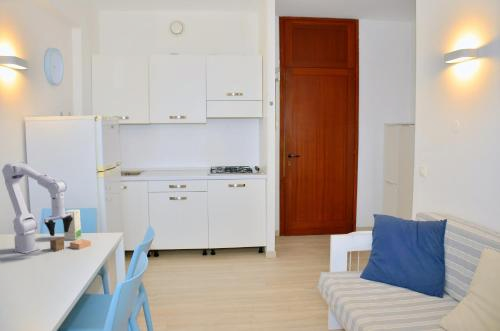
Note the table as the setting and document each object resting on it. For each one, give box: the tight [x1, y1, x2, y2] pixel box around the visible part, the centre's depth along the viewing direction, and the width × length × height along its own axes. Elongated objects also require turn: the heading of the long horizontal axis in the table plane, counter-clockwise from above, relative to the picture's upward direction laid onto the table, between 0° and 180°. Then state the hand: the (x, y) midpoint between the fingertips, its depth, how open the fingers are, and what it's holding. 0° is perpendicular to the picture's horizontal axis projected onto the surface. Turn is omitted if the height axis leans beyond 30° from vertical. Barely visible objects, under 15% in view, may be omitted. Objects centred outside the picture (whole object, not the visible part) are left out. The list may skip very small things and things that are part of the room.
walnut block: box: [49, 237, 65, 252], centre depth 211 cm, size 4×4×6 cm
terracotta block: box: [69, 238, 92, 250], centre depth 216 cm, size 7×7×3 cm
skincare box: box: [63, 209, 82, 241], centre depth 231 cm, size 8×7×16 cm
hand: (59, 233), depth 204 cm, fingers open, 7 cm apart
